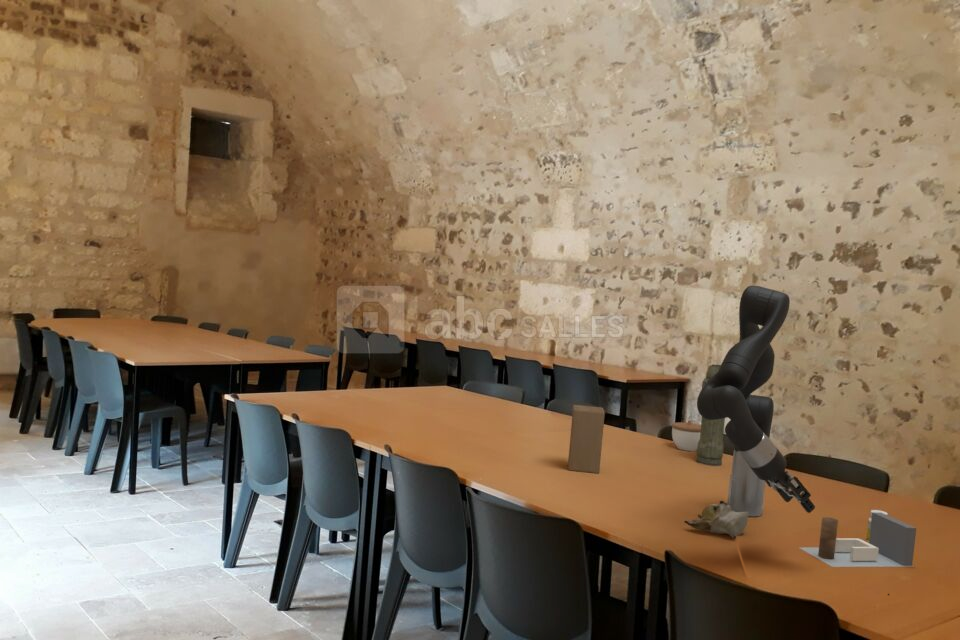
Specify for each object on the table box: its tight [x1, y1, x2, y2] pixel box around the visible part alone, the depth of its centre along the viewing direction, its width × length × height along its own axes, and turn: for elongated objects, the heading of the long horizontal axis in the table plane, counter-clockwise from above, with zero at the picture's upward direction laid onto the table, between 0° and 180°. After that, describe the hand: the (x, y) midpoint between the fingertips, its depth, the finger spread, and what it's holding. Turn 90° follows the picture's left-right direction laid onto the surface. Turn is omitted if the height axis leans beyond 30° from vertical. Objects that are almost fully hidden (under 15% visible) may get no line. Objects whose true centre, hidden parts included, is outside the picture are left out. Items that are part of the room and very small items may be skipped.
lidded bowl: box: [671, 419, 701, 452], centre depth 321 cm, size 13×13×11 cm
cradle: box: [835, 537, 879, 561], centre depth 200 cm, size 7×7×3 cm
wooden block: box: [567, 404, 606, 474], centre depth 274 cm, size 10×10×20 cm
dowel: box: [818, 516, 839, 559], centre depth 198 cm, size 4×4×9 cm
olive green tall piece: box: [696, 364, 726, 467], centre depth 299 cm, size 9×12×35 cm
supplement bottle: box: [866, 509, 889, 541], centre depth 216 cm, size 5×5×8 cm
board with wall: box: [798, 512, 917, 568], centre depth 200 cm, size 22×13×10 cm, turn 103°
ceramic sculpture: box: [683, 500, 750, 539], centre depth 215 cm, size 11×9×15 cm
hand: (800, 504), depth 196 cm, fingers open, 8 cm apart
